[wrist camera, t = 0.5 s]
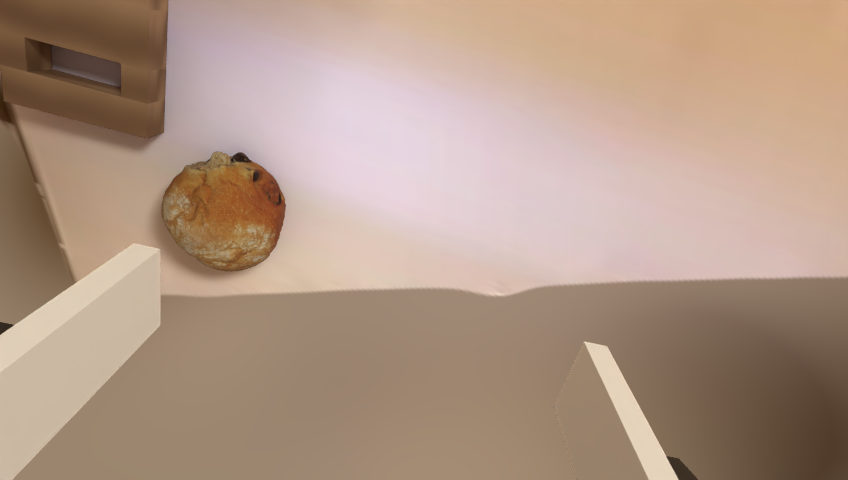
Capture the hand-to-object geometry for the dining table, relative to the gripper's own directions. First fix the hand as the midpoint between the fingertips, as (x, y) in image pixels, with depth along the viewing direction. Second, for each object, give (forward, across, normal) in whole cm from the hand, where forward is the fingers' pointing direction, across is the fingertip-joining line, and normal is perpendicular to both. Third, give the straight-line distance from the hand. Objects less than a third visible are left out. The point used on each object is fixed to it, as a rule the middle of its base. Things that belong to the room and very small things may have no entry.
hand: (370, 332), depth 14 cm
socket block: (+27, -26, +5) cm, 38 cm away
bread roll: (+27, -14, -9) cm, 32 cm away
